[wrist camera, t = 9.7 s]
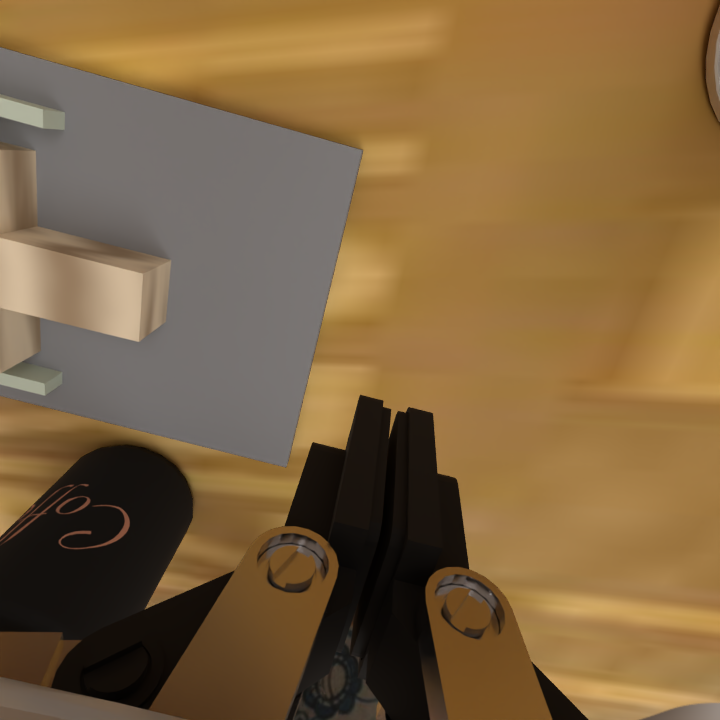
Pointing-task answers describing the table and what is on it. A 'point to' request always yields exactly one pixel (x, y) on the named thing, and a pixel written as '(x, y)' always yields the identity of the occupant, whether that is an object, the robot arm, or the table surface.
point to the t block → (66, 273)
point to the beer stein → (339, 692)
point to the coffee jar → (93, 544)
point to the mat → (182, 255)
